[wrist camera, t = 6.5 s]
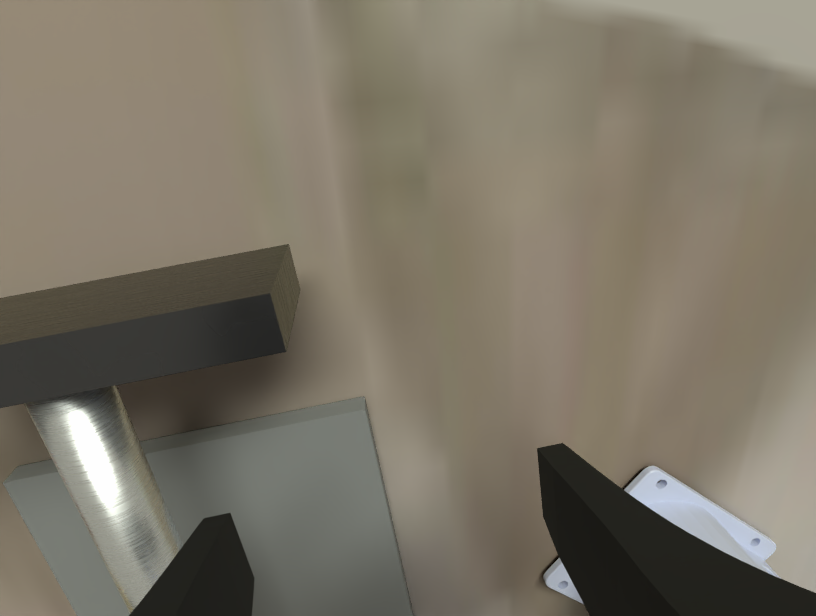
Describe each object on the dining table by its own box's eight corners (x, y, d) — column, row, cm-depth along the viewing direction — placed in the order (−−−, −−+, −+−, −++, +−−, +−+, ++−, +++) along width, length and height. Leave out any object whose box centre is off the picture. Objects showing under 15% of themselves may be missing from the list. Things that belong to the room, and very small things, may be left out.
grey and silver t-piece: (-115, 319, 16) (-280, 398, 12) (288, 243, 16) (269, 292, 12) (138, 758, 24) (95, 898, 20) (404, 698, 24) (417, 821, 20)
